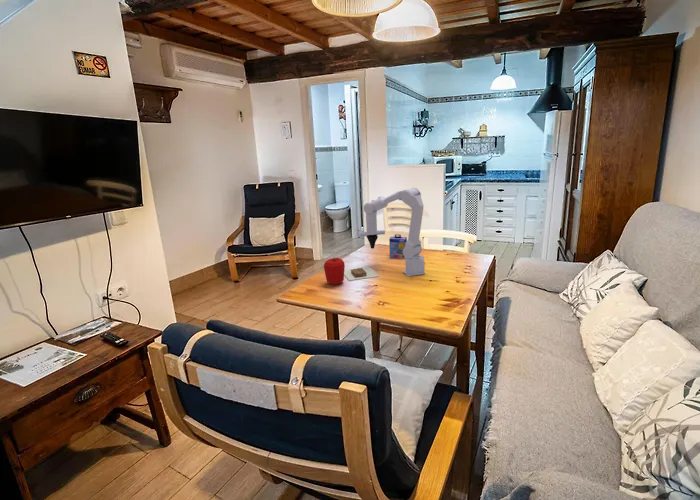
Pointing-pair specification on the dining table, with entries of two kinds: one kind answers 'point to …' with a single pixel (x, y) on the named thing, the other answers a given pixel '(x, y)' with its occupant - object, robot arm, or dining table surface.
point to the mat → (369, 273)
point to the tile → (358, 272)
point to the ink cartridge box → (397, 246)
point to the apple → (334, 270)
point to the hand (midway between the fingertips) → (372, 248)
